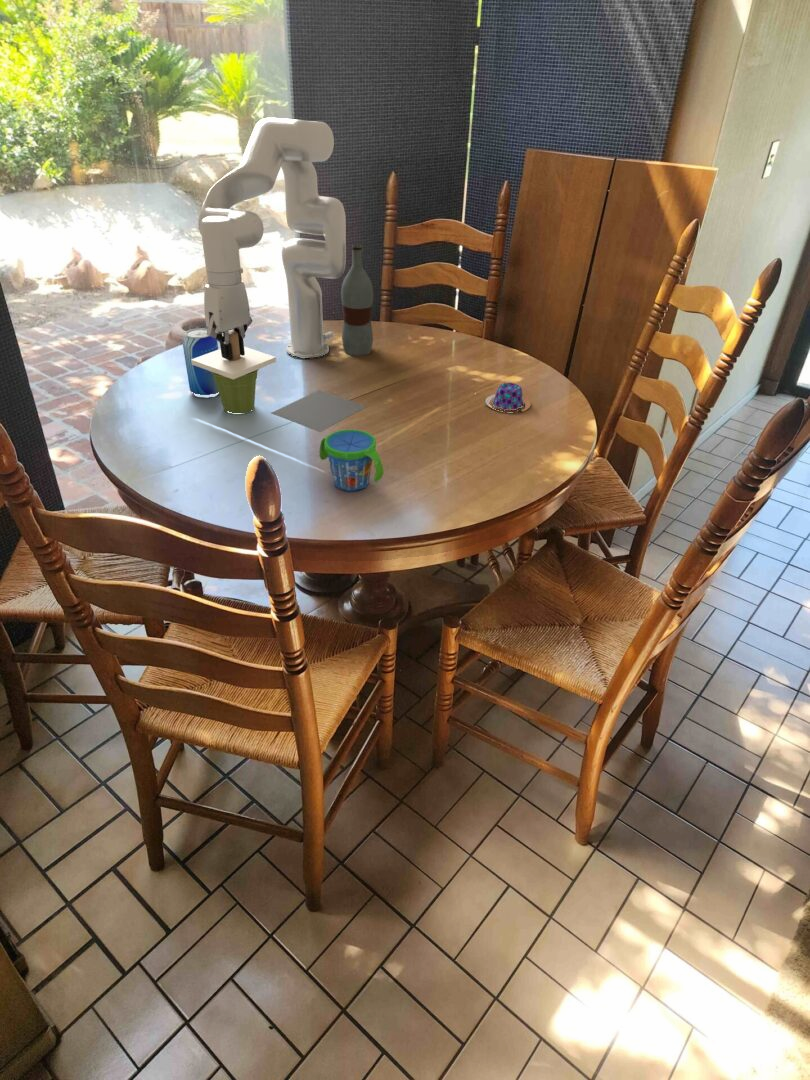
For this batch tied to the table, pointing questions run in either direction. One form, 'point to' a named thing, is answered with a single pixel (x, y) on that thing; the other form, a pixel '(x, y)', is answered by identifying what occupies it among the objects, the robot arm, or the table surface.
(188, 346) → the beer can
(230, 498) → the table surface
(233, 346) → the lid
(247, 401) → the plant pot
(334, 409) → the mat
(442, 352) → the table surface
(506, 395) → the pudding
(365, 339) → the bottle
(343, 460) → the snack cup
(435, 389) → the table surface
